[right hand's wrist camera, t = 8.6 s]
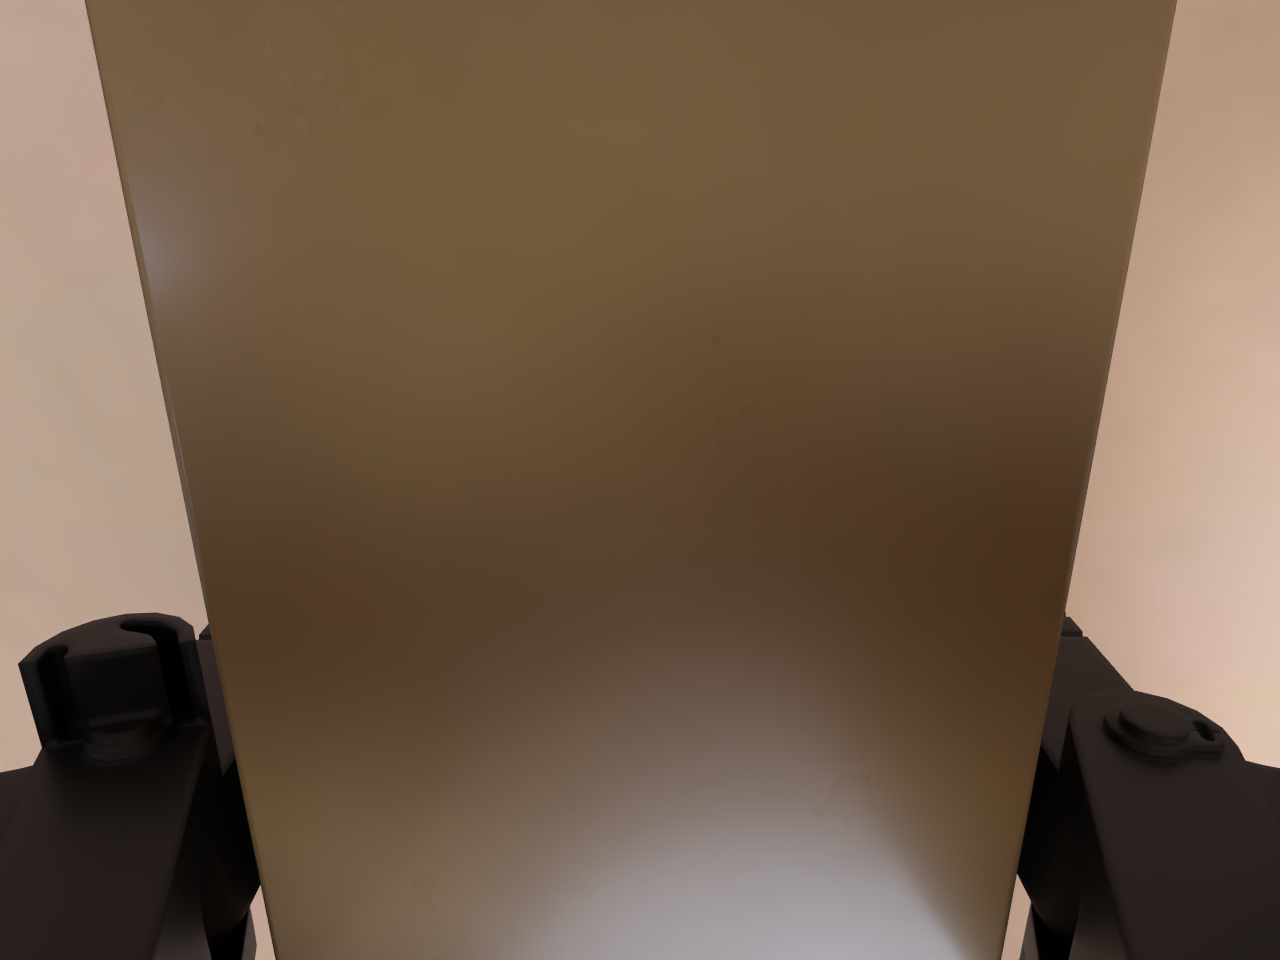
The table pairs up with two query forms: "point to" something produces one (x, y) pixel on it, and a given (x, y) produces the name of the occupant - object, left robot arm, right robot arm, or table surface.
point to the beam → (634, 447)
